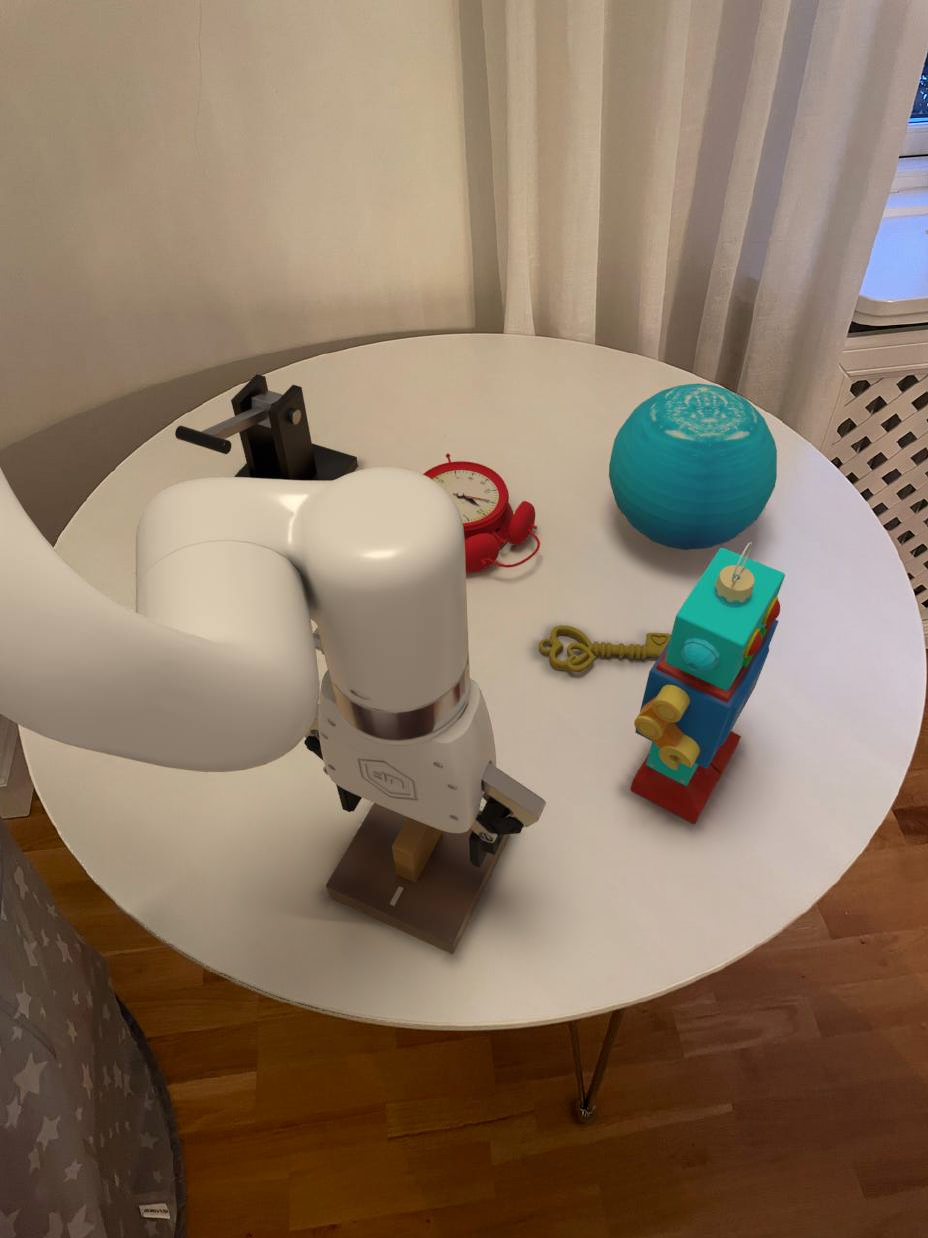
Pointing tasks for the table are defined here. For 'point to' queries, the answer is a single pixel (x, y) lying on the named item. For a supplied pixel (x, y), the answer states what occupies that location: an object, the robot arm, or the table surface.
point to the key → (597, 648)
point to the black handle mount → (285, 440)
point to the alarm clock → (484, 512)
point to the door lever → (231, 425)
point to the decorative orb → (693, 466)
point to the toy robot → (705, 681)
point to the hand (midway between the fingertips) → (420, 820)
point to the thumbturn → (414, 848)
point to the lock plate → (415, 908)
